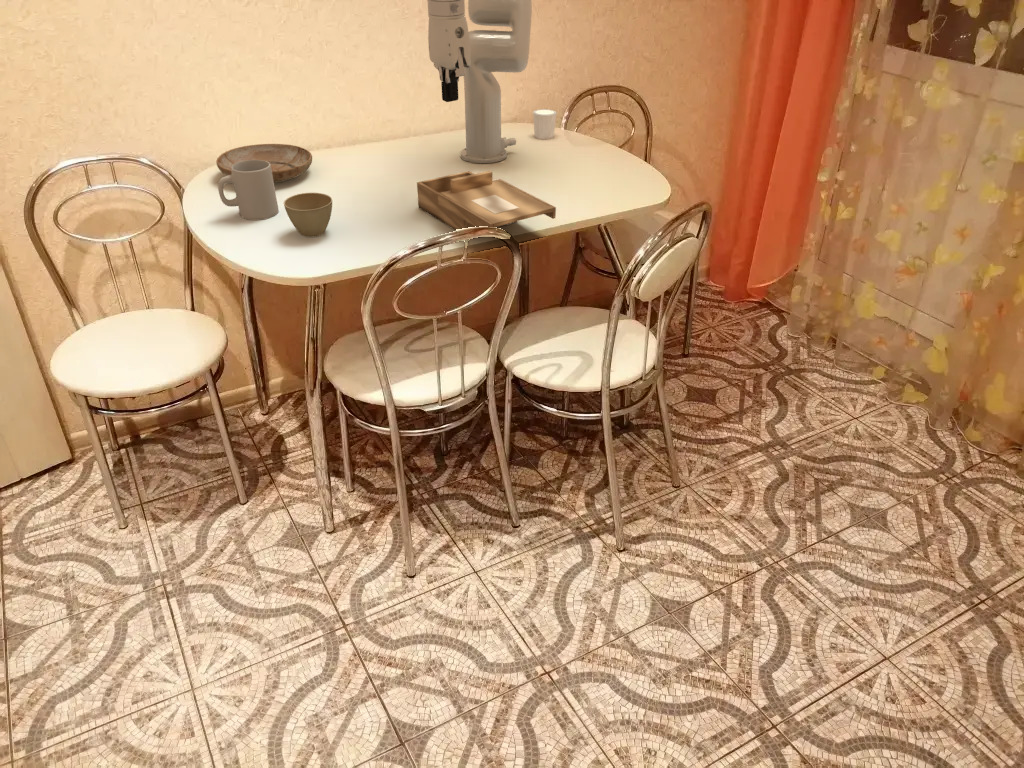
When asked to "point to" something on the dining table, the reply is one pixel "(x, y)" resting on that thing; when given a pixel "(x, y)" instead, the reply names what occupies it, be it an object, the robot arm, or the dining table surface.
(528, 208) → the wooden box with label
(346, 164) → the dining table surface
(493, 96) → the robot arm
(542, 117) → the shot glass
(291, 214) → the flower pot
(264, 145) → the shallow wooden bowl
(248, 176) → the mug
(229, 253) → the dining table surface
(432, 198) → the wooden box base
